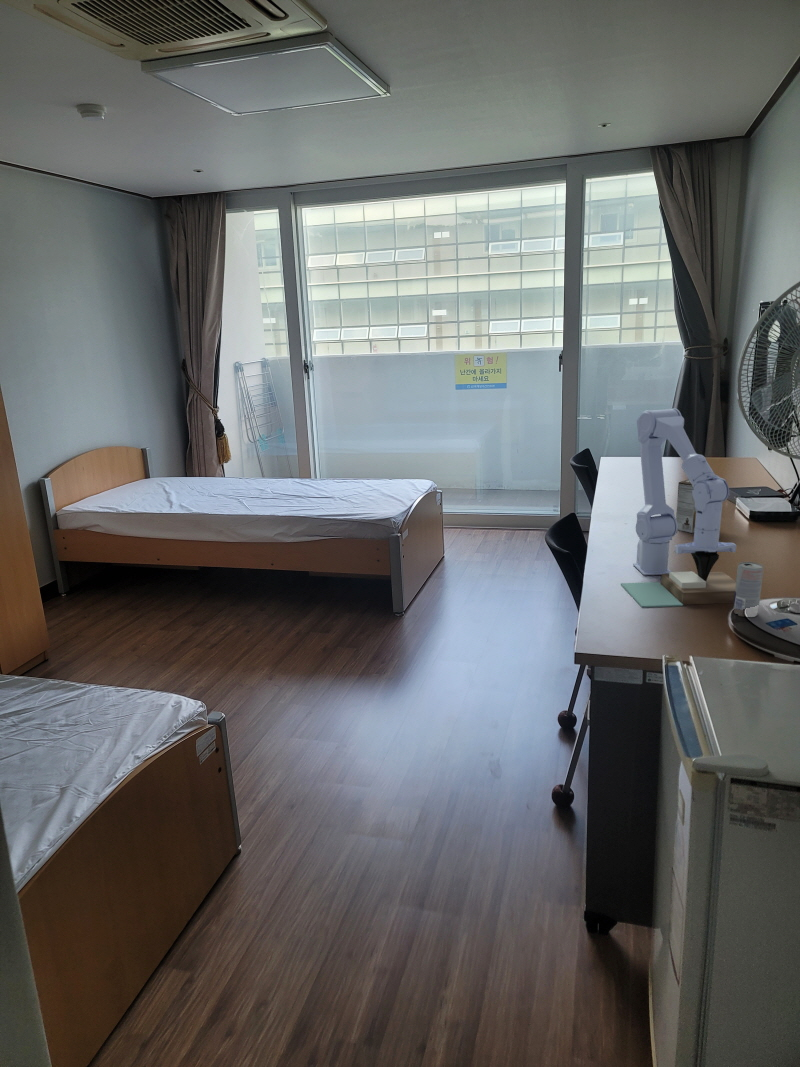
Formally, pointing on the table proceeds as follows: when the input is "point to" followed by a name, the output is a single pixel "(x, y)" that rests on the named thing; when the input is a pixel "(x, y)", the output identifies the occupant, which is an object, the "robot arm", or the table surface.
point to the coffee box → (685, 507)
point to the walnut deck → (704, 590)
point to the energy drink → (748, 585)
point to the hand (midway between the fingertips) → (702, 579)
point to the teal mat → (651, 594)
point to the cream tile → (687, 580)
